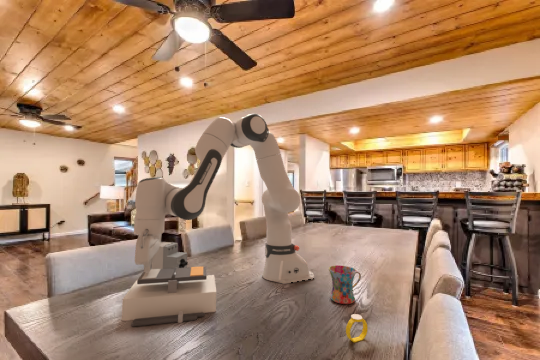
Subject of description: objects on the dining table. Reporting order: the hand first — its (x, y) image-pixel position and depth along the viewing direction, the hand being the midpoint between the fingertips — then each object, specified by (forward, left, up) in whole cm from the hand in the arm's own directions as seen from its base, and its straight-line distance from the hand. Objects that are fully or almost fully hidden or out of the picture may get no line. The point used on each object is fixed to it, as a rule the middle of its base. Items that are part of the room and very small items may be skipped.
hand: (147, 271), depth 82 cm
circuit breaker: (-4, -21, -11) cm, 24 cm away
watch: (-55, +31, -11) cm, 64 cm away
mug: (-65, +9, -11) cm, 67 cm away
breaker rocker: (-8, 0, -2) cm, 8 cm away
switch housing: (-8, 0, -11) cm, 14 cm away
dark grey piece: (-8, +11, -11) cm, 18 cm away
